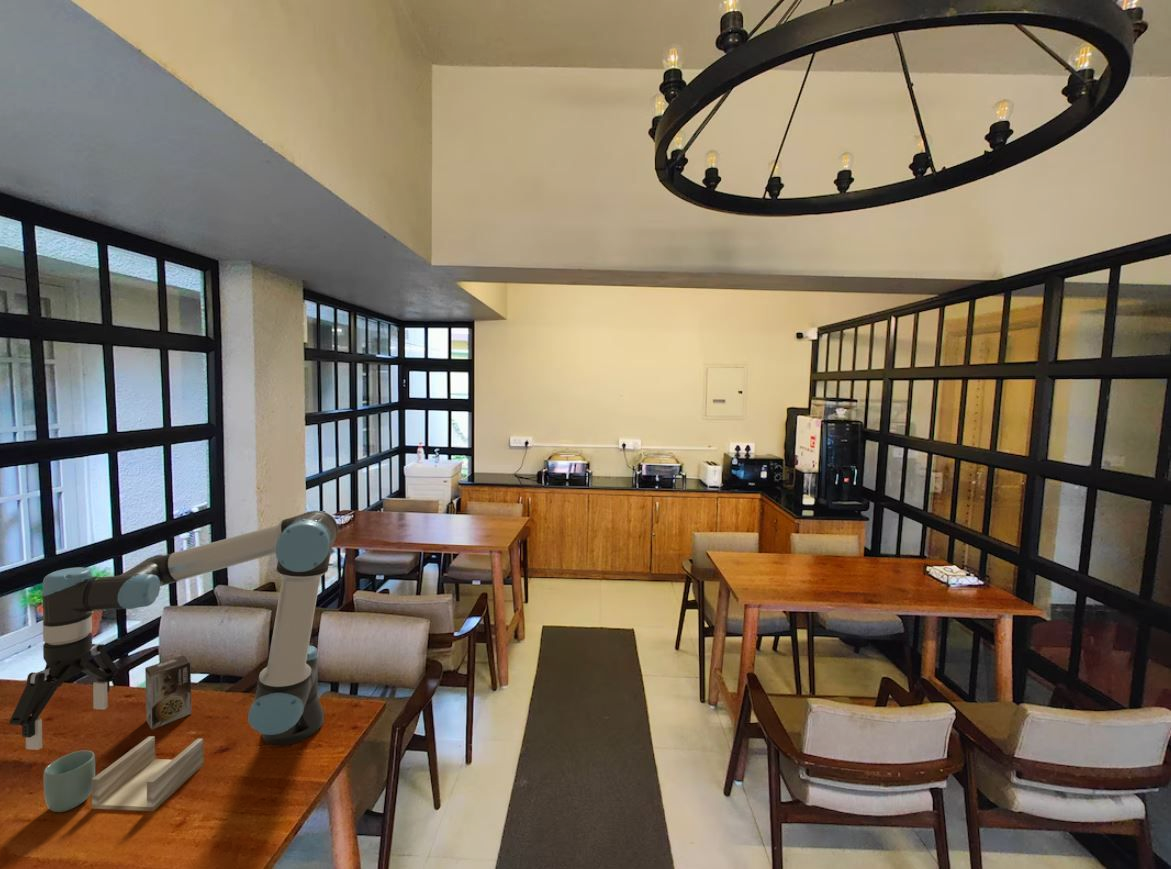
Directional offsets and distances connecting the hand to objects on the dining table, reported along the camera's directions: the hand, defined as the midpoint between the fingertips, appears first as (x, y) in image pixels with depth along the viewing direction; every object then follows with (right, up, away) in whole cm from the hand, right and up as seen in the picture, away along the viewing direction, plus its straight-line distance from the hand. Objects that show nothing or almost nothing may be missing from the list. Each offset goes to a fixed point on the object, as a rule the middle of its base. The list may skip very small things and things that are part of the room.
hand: (69, 727), depth 108 cm
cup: (+1, -18, 0) cm, 18 cm away
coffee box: (-3, -16, +30) cm, 34 cm away
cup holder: (+14, -18, +6) cm, 23 cm away
